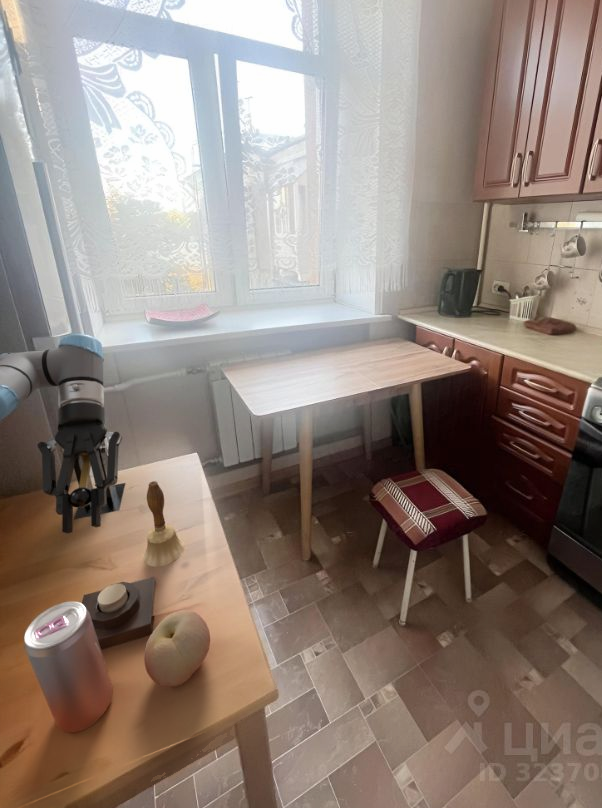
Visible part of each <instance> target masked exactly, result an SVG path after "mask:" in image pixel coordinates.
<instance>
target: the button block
mask: <svg viewBox="0 0 602 808" xmlns="http://www.w3.org/2000/svg"><path fill="white" fill-rule="evenodd" d="M113 584H114V583H113ZM113 584H111V585H113ZM115 584H123V585H124V586H125V588H126V591H127V595H128V599H127V602H126V603H125V605H124V606H123V607H121V608H120V609H118V610H116V611H114V612H110V613H104V612H102V611H101V610H100V607H99V603H98V596H99V594H100V593H101V591H102V590H104V589H105V588H103V589H101V590H97V591H94V592H90V593H86V594H83V597H82V600H81V602H80V603H81V604H83V605H84V606H85V608H86V610H88V612H89V613H90V616H91V619H92V623H93V626H94V629H95V632H96V636H97V639H98V642H99V645H100V648H101V651H102V650H105V649H109V648H113V647H115V646H118V645H122V644H126V643H128V642H131V641H135V640H138V639H141V638H144V637H148V636H151V634H152V633H153V631H154V626H155V624H154V623H155V615H154V607H155V595H156V584H157V583H156V577H155V576H151V577H147V578H144V579H140V580H136V581H132V582H128V581H121V582H116V583H115Z"/></svg>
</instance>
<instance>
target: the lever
mask: <svg viewBox="0 0 602 808" xmlns="http://www.w3.org/2000/svg"><path fill="white" fill-rule="evenodd" d="M80 456H81V458H82V460H83V466H82V472H81V477H80V483H79V484H78V488H75V489H74V490H73V491H71V492H70V493H69V494H70V496H69V502H70V504H71V505H72V506H73V508H76V509H78V508H82V507H85V506H87V505H89V504H90V503H91V490H90V489H88V488H87V486H88V480H89V475H91V474H90V473H91V464H90V460H89V455H88V453H82V454H80Z"/></svg>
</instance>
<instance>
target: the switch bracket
mask: <svg viewBox="0 0 602 808" xmlns="http://www.w3.org/2000/svg"><path fill="white" fill-rule="evenodd" d="M98 450H99V454H100V456H99V457H100V461H101V465H102V469H103V473H104V477H105V479H107V465H108V446H106V443H105V439H104V440H103V442H102V443H101V444H100V446H99V447H98ZM82 466H83V460H82V458H81V456H80V454H79V455H78V456H77V460H76V461H75V465H74V469H73V471H74V473H75V478H76V480H77V481H76V482H77V484H78V485H79V483H80V477H81V472H82ZM125 486H126V482H123V483H116V484H114V485H111V486H109V487H108V488H107V489H106V502H107V503H106V506H104V507H100V515H104V514H109V513H113V512H119V511H120V509H121V505H122V501H123V496H124V492H125V489H126V488H125ZM87 488H88V489H90V490H91V489H97V487H95V488H94V485H93V483H92V478H91V474H89V480H88V486H87ZM88 517H91V503H90V504H89V505H87V506H85V507H82V508H76V511H75V514H74V515H73V521H74V520H78V519H84V518H88Z"/></svg>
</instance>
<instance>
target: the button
mask: <svg viewBox="0 0 602 808" xmlns="http://www.w3.org/2000/svg"><path fill="white" fill-rule="evenodd" d="M103 589H104V590H103ZM103 589H101V590H102V591H101V590H100V591H101V593H100V594H99V596H98V603H99V607H100V610H101V611H102V612H104V613H110V612H114V611H116V610H118V609H120V608H121V607H123V606H124V605H125V603H126V602H127V599H128V595H127V591H126V588H125V586H124V585H123V584H116V583H113V585H112V584H109V585H108V586H107V587H105V588H103Z"/></svg>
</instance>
